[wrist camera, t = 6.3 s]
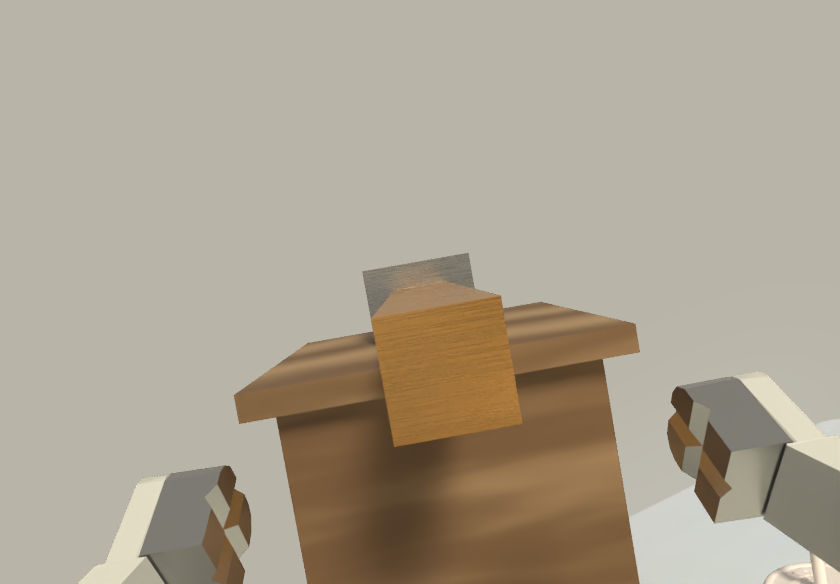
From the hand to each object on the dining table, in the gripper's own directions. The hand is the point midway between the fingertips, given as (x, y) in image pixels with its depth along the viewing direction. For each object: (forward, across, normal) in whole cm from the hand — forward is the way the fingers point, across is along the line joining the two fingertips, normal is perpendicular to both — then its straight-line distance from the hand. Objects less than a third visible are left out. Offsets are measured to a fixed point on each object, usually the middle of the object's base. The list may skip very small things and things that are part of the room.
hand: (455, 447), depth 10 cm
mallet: (+10, 0, +6) cm, 12 cm away
